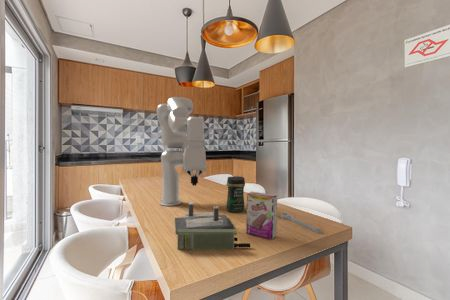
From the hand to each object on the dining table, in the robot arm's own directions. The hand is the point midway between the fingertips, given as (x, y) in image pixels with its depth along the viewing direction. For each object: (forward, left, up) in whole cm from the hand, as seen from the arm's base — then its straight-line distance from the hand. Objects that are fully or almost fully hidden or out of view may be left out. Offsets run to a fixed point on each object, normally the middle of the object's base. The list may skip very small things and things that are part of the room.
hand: (194, 184), depth 101 cm
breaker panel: (+4, +4, -17) cm, 18 cm away
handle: (+8, +9, -14) cm, 19 cm away
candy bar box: (+20, +25, -17) cm, 36 cm away
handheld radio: (+27, +4, -18) cm, 32 cm away
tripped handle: (0, -1, -15) cm, 15 cm away
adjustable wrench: (+11, +46, -18) cm, 51 cm away
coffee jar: (-13, +24, -17) cm, 32 cm away
